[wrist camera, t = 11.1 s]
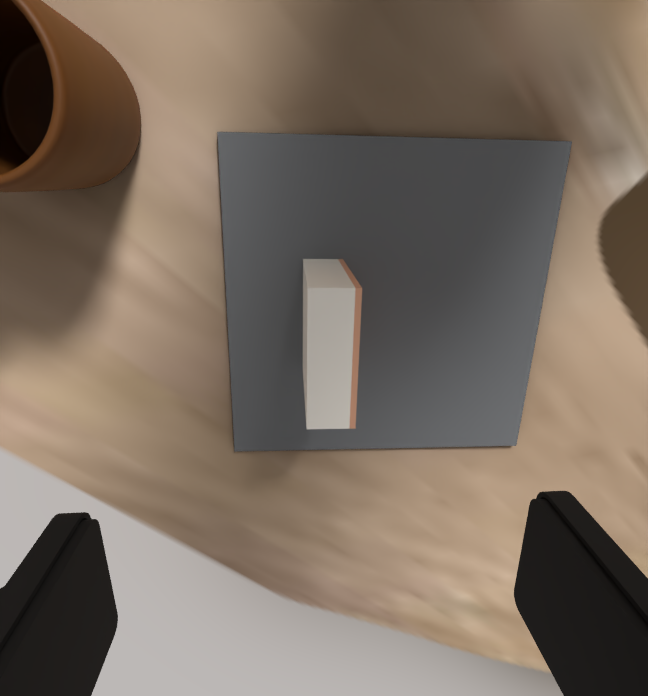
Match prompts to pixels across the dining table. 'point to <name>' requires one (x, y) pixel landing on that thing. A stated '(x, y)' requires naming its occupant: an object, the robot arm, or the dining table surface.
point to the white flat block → (330, 343)
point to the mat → (389, 280)
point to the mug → (60, 104)
